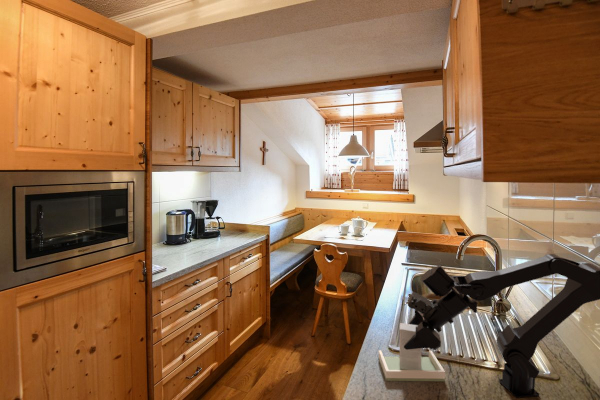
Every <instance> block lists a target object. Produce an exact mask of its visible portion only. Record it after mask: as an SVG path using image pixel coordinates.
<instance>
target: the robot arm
mask: <svg viewBox="0 0 600 400" xmlns="http://www.w3.org/2000/svg"><path fill="white" fill-rule="evenodd" d="M552 275H560V276H563V277H565V278H566V281H565V283H564V287H563V288H562V289H561V291H560V290H559V292H558V293H557V294H556V295H555V296H554V297H553V298H551V299H550V300H549V301H548V302H547V303H546V304H545V305H544V306H542V307H541V308H540V309H539V310H538V311H537V312H535V313H534V314H533V315H532V316H531V317H529V319H527V320H526V321H525V322H524V323H523V324H522V325H520V326H518V327H517V326H516V327H512V326H511V325H510V324H508V325H506V326H505V328H504V329H503V330H502V331H500V332H497V335H498V336H497V338H496V347H497V349H498V350H499V352H500V354H501V358H502V359H503V361H504V362H505V363H504V364H503V369H502V377H501V378H499V380H498V382H499V383H500V384H501V385H502V387H504V388H506V389H507V390H508V391H509V392H510V393H511V395H513V397H515V398H530V397H531V398H532V397H533V398H534V397H540V393H539V392H538V391H537V390H535V389H536V388H535V386H536V379H537V377H538V376H539V373H540V370H539V368H538V367H537V365H536V364H535V362H534V361H533V359H532V358H533V356H534V355H535V353H536V350H537V347H538V344H539V343H540V342H541V341H542V340H543V339H544V338H545V337H547V336H548V335H549V334H551V332H552V331H554V330H555V329H556V328H557V327H558V326H559V325H561V324H562V323H563V322H564V321H565V320H567V319H568V318H569V317H570V316H571V315H572V314H574V313H575V312H576V311H577V310H578V309H579V308H581V307H582V306H583V305H586V304H587V303H588V304H589V303H593V302H596V301H600V267H599V266H597V265H596V264H594V263H590V262H587V263H586V262H585V263H583V262H582V263H580V262H576V260H575V261H574V260H571V259H568V258H564V257H561V256H559V255H558V254H554V253H547V254H545V255H544V256H542V257H541V256H540V257H538V258H534V259H532V260H529V261H525V262H521V263H518V264H515V265H512V266H509V267H508V266H507V267H506V268H500V269H499V270H492V271H491V270H490V271H489V270H487V271H486V270H481V271H474V272H469V273H468V274H466V275H453V276H451V275H450V274H449V273H448V272H447V271H446V270H445V269H444V267H443V266H442V265H441V264H438V265H437V266H435V267H431V268H429V269H428V270H426V271H425V272H424V273H423V274H422V276H421V277H420V281H421V283H423V285H424V286H425V287H427V288H428V289H429V291H431V293H432V294H433V295H435V296H436V297H439V299H437V298H433V299H432V300H429V299H428V298H427V297H426V296H424V295H421V294H419V293H417V292H415V291H412V292H411V293H410V296H409V297H408V299H407V307H408V308H410V309H412V310H414V315H413V317H412V318H411V320H409V322H408V324H412V325H418V326H417V327H416V333H415V335H414V336H413V337H412V338H411V339H410V340H409V341H408V342H407V343H406V344H405V345H404V348H405V349H406V350H408V349H418V348H422V349H430V350H433V351H436V350H438V349H440V348H441V347H442V346H441V345H442V340H441V336H440V334H439V333H440V332H441V331H442V328H443V326H445V325H446V324H448V323H450V325H451V324H453V323H454V318H456V317H457V316H459V315H461V313H463V312H464V311H466V310H467V309H468V308H469V309H470V310H471V311H472V312H473V313H475V314H476V313H477V312H478V302H484V301H487V300H489V299H490V298H493V297H494V296H497V295H498V294H499V293H500V292H502V291H503V290H505V289H508V288H511V287H514V286H517V285H520V284H524V283H528V282H531V281H534V280H539V279H542V278H546V277H549V276H552Z"/></svg>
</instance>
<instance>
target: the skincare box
mask: <svg viewBox="0 0 600 400" xmlns="http://www.w3.org/2000/svg"><path fill="white" fill-rule="evenodd" d="M417 326H418V325H412V324H409V323H402V322H400V323H399V357H400V364H399V366H400V369H405V370H421V357H423V356H422V355H423V354H422V351H423V350H422V349H423V348H418V349H408V350H406V349H405V348H404V345H405V344H406V343H407V342H408V341H409V340H410V339H411V338H412V337H413V336H414V335H415V333H416V327H417Z"/></svg>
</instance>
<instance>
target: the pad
mask: <svg viewBox="0 0 600 400" xmlns="http://www.w3.org/2000/svg"><path fill="white" fill-rule="evenodd" d="M378 360H379V365H380V366H381V370H382V372H383V376H384V379H385V381H386V382H387V381H388V382H446V371H445V369H444V368H443V366H442V365H441V363H440V362H439V360H438V359H437V357H436V355H435V353H434V352H433V351H432V350H428V356H422V357H421V370H405V369H400V366H399V364H400V356H384V354H383V350H378Z"/></svg>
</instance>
